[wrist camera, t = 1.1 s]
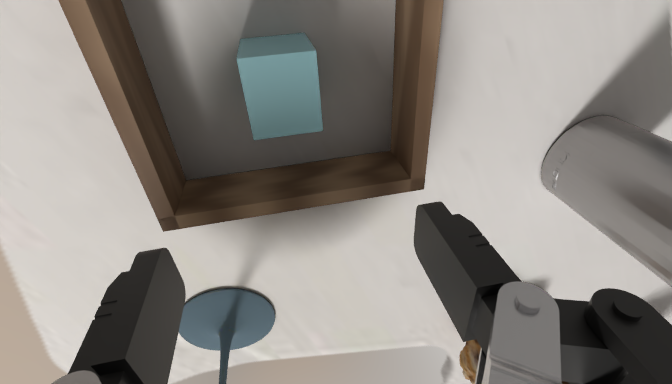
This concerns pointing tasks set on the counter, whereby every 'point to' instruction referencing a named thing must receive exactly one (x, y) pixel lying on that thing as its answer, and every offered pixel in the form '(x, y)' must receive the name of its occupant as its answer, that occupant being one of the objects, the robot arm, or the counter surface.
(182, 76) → the counter surface
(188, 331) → the cocktail glass
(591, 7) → the counter surface
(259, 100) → the teal block
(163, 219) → the open-front crate
